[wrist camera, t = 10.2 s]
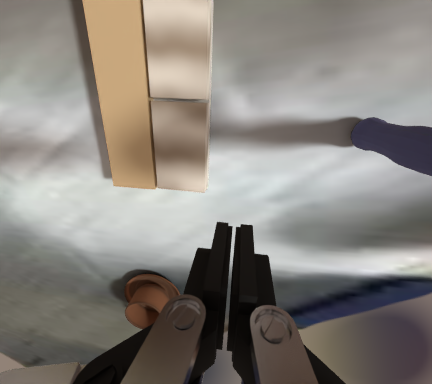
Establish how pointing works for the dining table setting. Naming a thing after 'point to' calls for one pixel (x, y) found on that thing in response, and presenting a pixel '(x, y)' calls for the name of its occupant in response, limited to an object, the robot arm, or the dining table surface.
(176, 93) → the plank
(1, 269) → the dining table surface
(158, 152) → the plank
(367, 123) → the rubber mallet
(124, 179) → the floor board
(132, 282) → the cup and saucer
